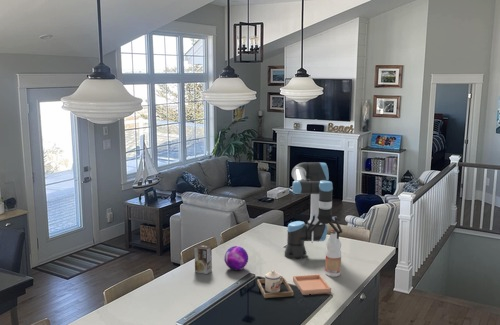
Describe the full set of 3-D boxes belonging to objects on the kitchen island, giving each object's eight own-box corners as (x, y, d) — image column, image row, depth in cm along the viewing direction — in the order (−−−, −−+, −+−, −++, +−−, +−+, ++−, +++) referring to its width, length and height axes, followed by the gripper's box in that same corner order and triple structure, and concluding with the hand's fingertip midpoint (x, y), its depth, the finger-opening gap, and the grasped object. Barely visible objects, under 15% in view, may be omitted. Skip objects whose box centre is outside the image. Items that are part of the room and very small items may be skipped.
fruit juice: (330, 278, 306) (332, 234, 301) (322, 272, 314) (323, 229, 309) (343, 275, 310) (345, 232, 305) (334, 270, 318) (336, 227, 313)
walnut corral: (257, 283, 298) (257, 279, 297) (284, 281, 301) (284, 277, 300) (264, 298, 278) (264, 293, 277) (293, 295, 281) (293, 291, 280)
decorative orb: (253, 269, 319) (253, 246, 317) (236, 275, 308) (236, 252, 306) (236, 263, 329) (236, 241, 327) (219, 269, 319) (219, 246, 316)
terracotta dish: (292, 280, 301) (292, 276, 301) (319, 278, 304) (319, 274, 304) (302, 295, 282) (302, 290, 281) (330, 292, 285) (330, 288, 284)
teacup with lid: (271, 294, 282) (271, 275, 280) (261, 289, 289) (261, 270, 287) (287, 289, 289) (288, 270, 287) (277, 284, 296) (277, 265, 294)
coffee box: (212, 270, 316) (212, 246, 313) (207, 274, 310) (206, 249, 308) (199, 268, 320) (199, 244, 317) (194, 272, 314) (194, 247, 311)
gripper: (302, 208, 287) (302, 243, 291) (347, 210, 282) (345, 246, 286) (304, 205, 295) (303, 239, 298) (347, 207, 290) (345, 242, 293)
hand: (324, 243), depth 292 cm, fingers open, 13 cm apart
